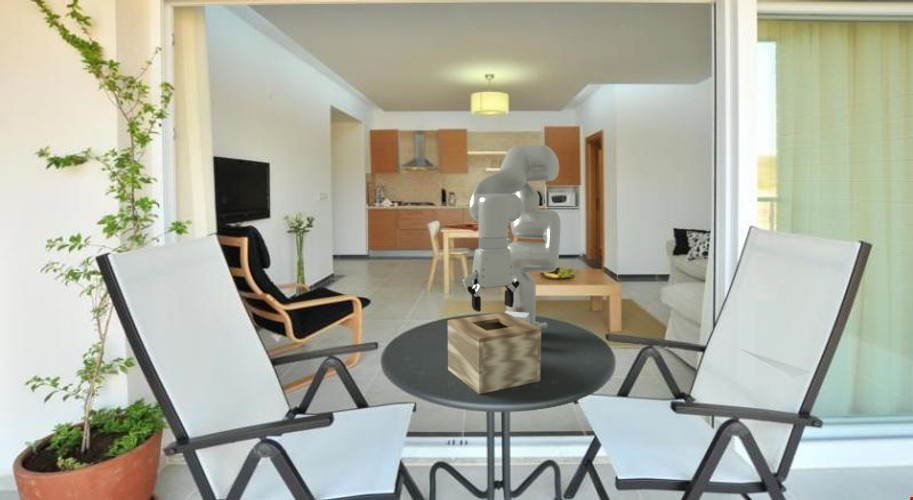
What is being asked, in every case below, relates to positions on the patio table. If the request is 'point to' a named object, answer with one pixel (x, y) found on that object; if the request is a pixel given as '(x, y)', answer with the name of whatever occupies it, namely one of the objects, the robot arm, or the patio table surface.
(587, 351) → the patio table surface
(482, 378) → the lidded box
